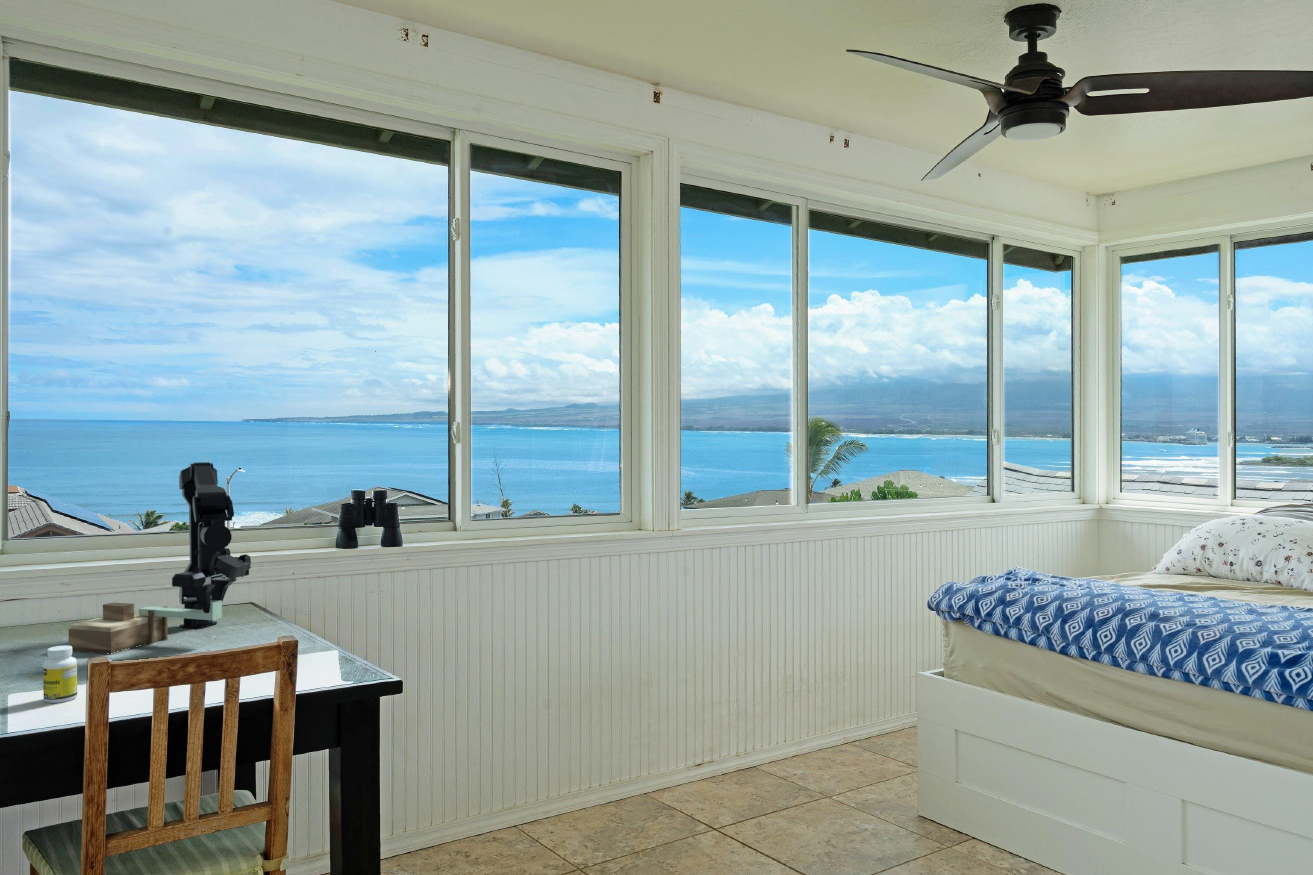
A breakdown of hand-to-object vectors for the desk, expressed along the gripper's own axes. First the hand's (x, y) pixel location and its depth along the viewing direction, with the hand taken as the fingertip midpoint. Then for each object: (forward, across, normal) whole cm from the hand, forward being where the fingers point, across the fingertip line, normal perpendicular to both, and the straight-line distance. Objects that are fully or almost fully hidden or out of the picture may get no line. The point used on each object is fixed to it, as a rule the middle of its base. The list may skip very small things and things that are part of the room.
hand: (212, 611), depth 220 cm
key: (+2, 0, +9) cm, 9 cm away
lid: (+3, -5, +22) cm, 23 cm away
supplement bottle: (+8, -43, -3) cm, 44 cm away
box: (+8, -5, +22) cm, 24 cm away
